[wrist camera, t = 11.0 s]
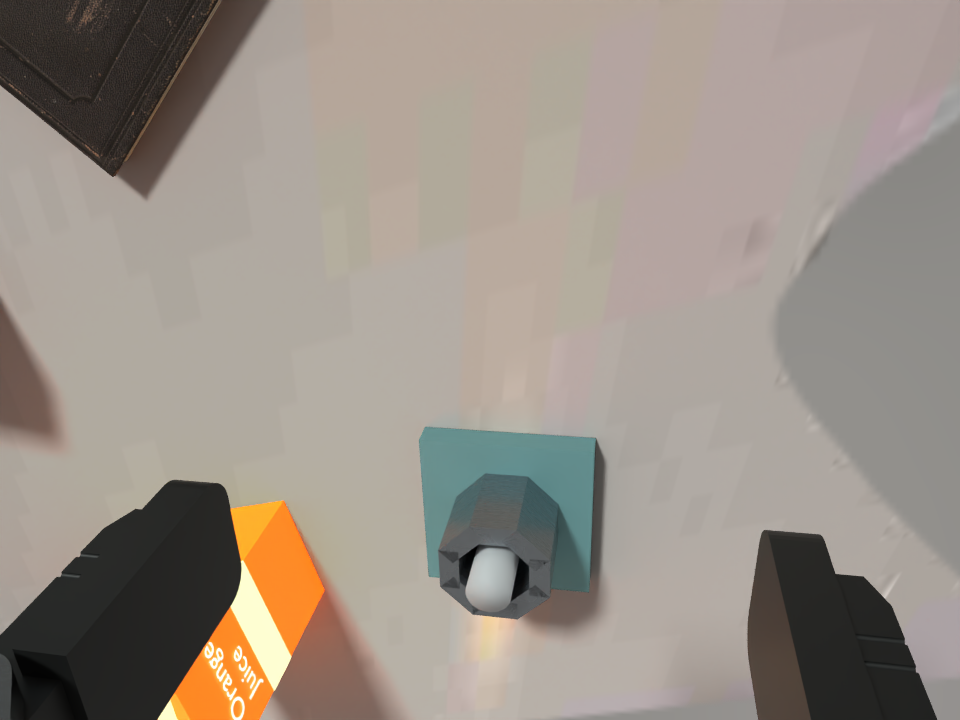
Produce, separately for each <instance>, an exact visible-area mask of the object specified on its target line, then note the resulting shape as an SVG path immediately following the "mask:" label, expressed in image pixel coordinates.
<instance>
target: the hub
mask: <svg viewBox="0 0 960 720" xmlns="http://www.w3.org/2000/svg"><path fill="white" fill-rule="evenodd" d="M558 505H559V504H558V503H557V502H555V501H554V500H553V499H552V498H551V497H550V496H549V495H548V494H547V493H546V492H545V491H543V490H542V489H541V488H540V487H539V486H538V485H537V484H536V483H535V482H534V481H533V480H531V479H530V478H529V477H528V476H515V475H502V474H488V473H485V474H484V475H483V476H481V477H480V478H479V479H478V480H476V481H475V482H474V483H473V484H471V485H470V486H469V487H468V488H466V489H465V490H464V491H463V492H461V493H460V494H459V495H458V496H457V497H456V500H455V502H454V505H453V508H452V511H451V514H450V517H449V520H448V523H447V526H446V529H445V531H444V534H443V537H442V540H441V543H440V546H439V549H438V558H439V574H440V587H441V588H442V589H444V590H445V591H446V592H447V593H448V594H449V595H451V596H452V597H453V598H454V599H455V600H457V601H458V602H459V603H460V604H461V605H462V606H464V607H465V608H466V609H467V610H468V611H469V612H471V613H472V614H473V615H482V616H492V617H501V618H511V619H519V618H520V617H522V616H523V615H525V614H526V613H528V612H529V611H531V610H532V609H534V608H535V607H537V606H538V605H540V604H541V603H543V602H544V601H546V600H547V599H549V598H550V593H551V586H552V579H553V571H554V564H555V557H556V550H557V542H558ZM478 544H481V545H492V546H503V547H509V548H510V549H511V550H512V551H513V552H514V553H515V554H517V555H518V556H519V561H518V566H517V571H516V576H515V581H514V586H513V591H512V596H511V601H510V603H509V605H508V606H507V607H506V608H505V609H503V610H501V611H498V612H485V611H482V610H479V609H477V608H476V607H474V606H473V605H472V604H471V603H470V602H469V601H468V599H467V597H466V592H465V591H466V586H467V582H468V579H469V575H470V571H471V568H472V564H473V561H474V557H475V553H476V550H477V546H478Z"/></svg>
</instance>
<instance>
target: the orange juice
mask: <svg viewBox="0 0 960 720" xmlns="http://www.w3.org/2000/svg"><path fill="white" fill-rule="evenodd" d="M231 514H232V519H233V524H234V529H235V533H236V538H237V543H238V548H239V553H240V558H241V566H242V572H241V581H240V586H239V589H238V592H237V595H236V598H235V600H234V602H233V603H232V605H231V607H230V608H229V610H228V611H227V613H226V614H225V616H224V617H223V619H222V621H221V622H220V624H219V625H218V627H217V628H216V630H215V631H214V633H213V634H212V636H211V638H210V639H209V641H208V642H207V644H206V645H205V647H204V648H203V650H202V651H201V653H200V655H199V656H198V658H197V659H196V661H195V662H194V664H193V665H192V667H191V668H190V670H189V672H188V673H187V675H186V676H185V678H184V679H183V681H182V682H181V684H180V685H179V687H178V689H177V690H176V692H175V693H174V695H173V696H172V698H171V699H170V701H169V702H168V704H167V706H166V707H165V709H164V710H163V712H162V713H161V715H160V716H159V718H158V719H157V720H259V719H260V717H261V715H262V713H263V711H264V709H265V707H266V705H267V703H268V701H269V699H270V697H271V695H272V693H273V691H275V689H276V687H277V685H278V683H279V681H280V679H281V677H282V675H283V673H284V671H285V670H286V668H287V666H288V664H289V662H290V660H291V658H292V657H291V656H292V654H293V652H294V650H295V648H296V646H297V644H298V642H299V640H300V638H301V636H302V634H303V632H304V630H305V628H306V626H307V624H308V622H309V620H310V618H311V616H312V614H313V612H314V610H315V608H316V606H317V604H318V602H319V600H320V598H321V596H322V595H323V593H324V591H325V590H324V588H323V586H322V583H321V581H320V579H319V577H318V575H317V572H316V570H315V568H314V566H313V564H312V561H311V559H310V557H309V555H308V553H307V551H306V548H305V546H304V544H303V542H302V540H301V537H300V535H299V533H298V531H297V529H296V526H295V524H294V522H293V520H292V518H291V515H290V513H289V511H288V509H287V507H286V505H285V502H284V501H278V502H272V503H265V504H259V505H252V506H246V507H239V508H233V509H231Z"/></svg>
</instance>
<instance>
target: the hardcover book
mask: <svg viewBox="0 0 960 720" xmlns="http://www.w3.org/2000/svg"><path fill="white" fill-rule="evenodd" d="M221 1H222V0H0V85H1V86H2V87H3V88H4V89H6V90H7V91H8V92H9V93H11V94H12V95H13V96H14V97H15V98H17V99H18V100H19V101H20V102H22V103H23V104H24V105H25V106H26V107H28V108H29V109H30V110H31V111H33V112H34V113H35V114H36V115H37V116H39V117H40V118H41V119H42V120H44V121H45V122H46V123H47V124H48V125H50V126H51V127H52V128H53V129H55V130H56V131H57V132H58V133H59V134H61V135H62V136H63V137H64V138H66V139H67V140H68V141H69V142H70V143H72V144H73V145H74V146H75V147H77V148H78V149H79V150H80V151H81V152H83V153H84V154H85V155H86V156H88V157H89V158H90V159H91V160H92V161H94V162H95V163H96V164H97V165H99V166H100V167H101V168H102V169H103V170H105V171H106V172H107V173H108V174H110V175H111V176H112V177H114V176H116V174H117V172H118V171H119V169H120V167H121V165H122V164H123V163H124V162H126V161H127V160H128V159H129V157H130V155H131V154H132V152H133V150H134V149H135V147H136V145H137V143H138V142H139V140H140V138H141V137H142V135H143V133H144V132H145V130H146V128H147V127H148V125H149V123H150V121H151V120H152V118H153V116H154V115H155V113H156V111H157V110H158V108H159V106H160V105H161V103H162V101H163V99H164V98H165V96H166V94H167V93H168V91H169V89H170V88H171V86H172V84H173V82H174V81H175V79H176V77H177V76H178V74H179V72H180V71H181V69H182V67H183V66H184V64H185V62H186V60H187V59H188V57H189V55H190V54H191V52H192V50H193V49H194V47H195V45H196V44H197V42H198V40H199V38H200V37H201V35H202V33H203V32H204V30H205V28H206V27H207V25H208V23H209V22H210V20H211V18H212V16H213V15H214V13H215V11H216V10H217V8H218V6H219V5H220V3H221Z"/></svg>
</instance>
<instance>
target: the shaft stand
mask: <svg viewBox="0 0 960 720" xmlns="http://www.w3.org/2000/svg"><path fill="white" fill-rule="evenodd" d="M595 442H596V438H584V437H569V436H554V435H538V434H523V433H508V432H493V431H477V430H462V429H447V428H432V427H425V428H424V430H423V433H422V435H421V437H420V439H419V448H420V462H421V475H422V489H423V503H424V517H425V531H426V545H427V559H428V572H429V577H437V578H440V574H439V558H438V549H439V546H440V543H441V540H442V537H443V534H444V531H445V529H446V526H447V523H448V520H449V517H450V514H451V511H452V508H453V505H454V502H455V500H456V497H457V496H458V495H459V494H460V493H461V492H463V491H464V490H465V489H466V488H468V487H469V486H470V485H471V484H473V483H474V482H475V481H476V480H478V479H479V478H480V477H481V476H483V475H484V474H485V473H488V474H502V475H515V476H528V477H529V478H530V479H531V480H533V481H534V482H535V483H536V484H537V485H538V486H539V487H540V488H541V489H542V490H543V491H545V492H546V493H547V494H548V495H549V496H550V497H551V498H552V499H553V500H554V501H555V502H557V503H558V504H559V505H558V542H557V550H556V557H555V564H554V571H553V579H552V586H551V589H559V590H569V591H580V592H589V585H590V568H591V543H592V518H593V493H594V467H595ZM518 561H519V556H518V555H517V554H515V553H514V552H513V551H512V550H511V549H510V548H509V547H503V546H492V545H481V544H478V546H477V550H476V553H475V557H474V561H473V564H472V568H471V571H470V575H469V579H468V582H467V586H466V591H465V592H466V597H467V599H468V601H469V602H470V603H471V604H472V605H473V606H474V607H476V608H477V609H479V610H482V611H485V612H498V611H501V610H503V609H505V608H506V607H507V606H508V605H509V603H510V601H511V596H512V591H513V586H514V581H515V576H516V571H517V566H518Z"/></svg>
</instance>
